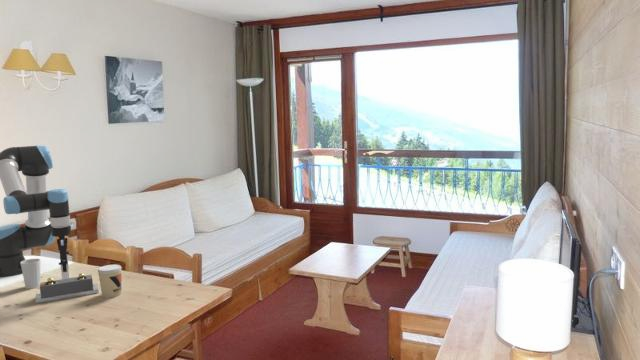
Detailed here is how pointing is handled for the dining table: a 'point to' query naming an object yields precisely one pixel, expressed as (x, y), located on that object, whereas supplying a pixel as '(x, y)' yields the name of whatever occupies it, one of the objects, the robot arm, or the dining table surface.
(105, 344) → the dining table surface
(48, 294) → the grey rectangular block
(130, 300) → the dining table surface
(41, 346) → the dining table surface
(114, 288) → the coffee cup
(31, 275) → the cup
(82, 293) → the grey plate brass knobs
